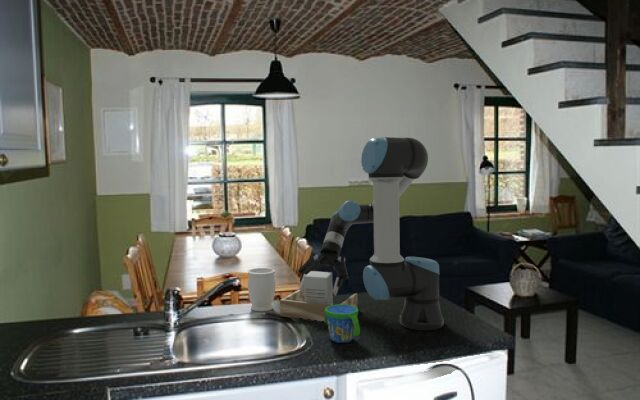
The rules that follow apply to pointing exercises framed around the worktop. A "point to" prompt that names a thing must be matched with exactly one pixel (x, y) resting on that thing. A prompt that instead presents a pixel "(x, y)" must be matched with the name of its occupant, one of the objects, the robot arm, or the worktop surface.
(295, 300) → the wooden u-shaped frame
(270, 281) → the jar
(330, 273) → the supplement box
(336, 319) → the snack cup
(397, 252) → the robot arm
